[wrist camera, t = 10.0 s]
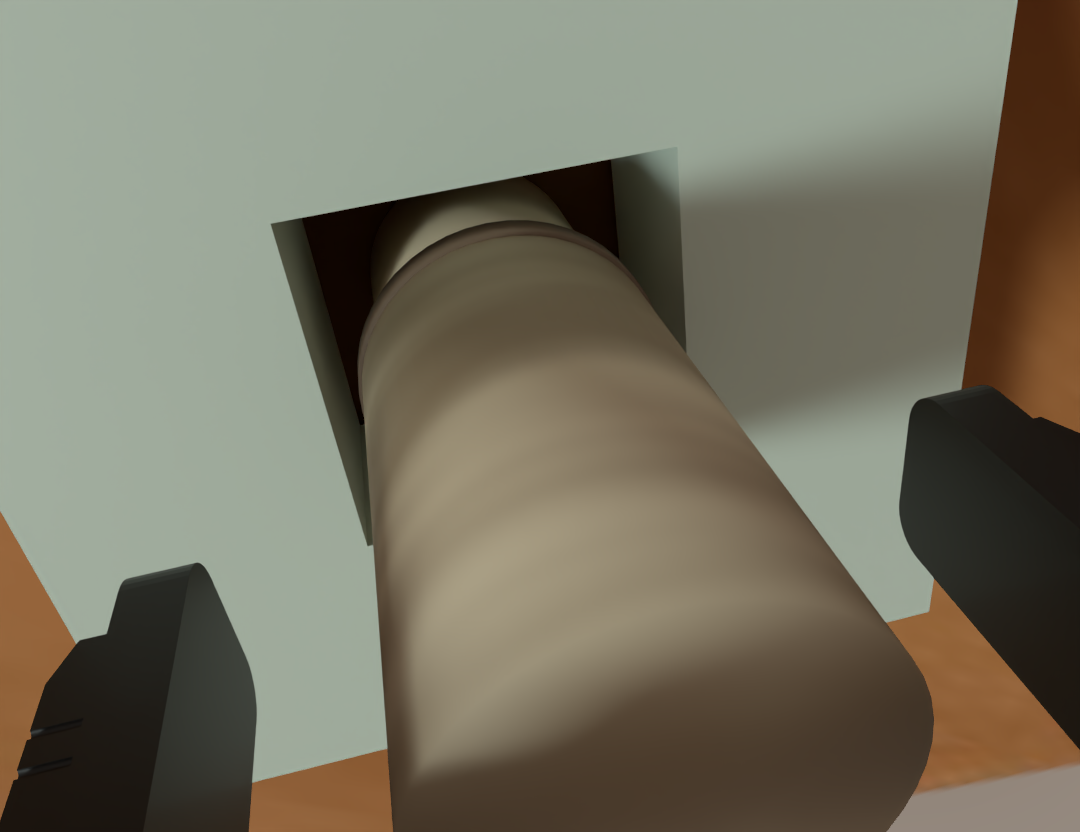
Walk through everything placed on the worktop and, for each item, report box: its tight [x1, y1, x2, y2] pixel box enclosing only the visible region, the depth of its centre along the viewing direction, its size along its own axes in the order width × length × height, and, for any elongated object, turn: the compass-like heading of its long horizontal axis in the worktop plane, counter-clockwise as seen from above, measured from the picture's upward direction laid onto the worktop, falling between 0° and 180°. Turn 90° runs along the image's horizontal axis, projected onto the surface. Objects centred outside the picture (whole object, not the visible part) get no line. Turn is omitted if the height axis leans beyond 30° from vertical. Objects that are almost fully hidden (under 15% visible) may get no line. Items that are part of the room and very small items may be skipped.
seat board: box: [0, 0, 1018, 782], centre depth 16 cm, size 16×16×4 cm
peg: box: [357, 177, 934, 832], centre depth 13 cm, size 5×5×12 cm
